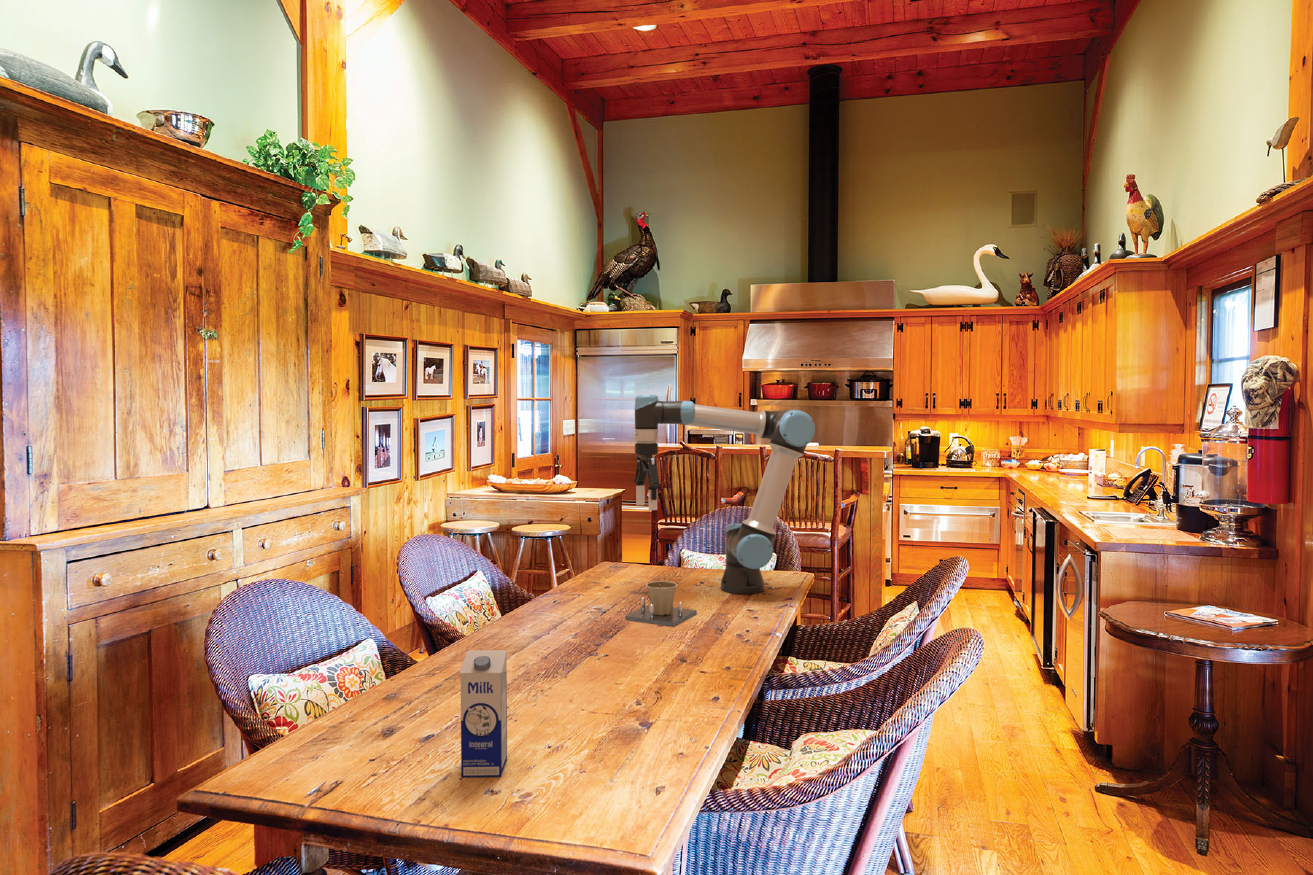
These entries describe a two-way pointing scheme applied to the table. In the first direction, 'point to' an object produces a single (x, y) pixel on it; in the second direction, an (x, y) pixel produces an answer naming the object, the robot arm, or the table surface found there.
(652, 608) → the plate
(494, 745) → the milk carton
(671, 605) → the flower pot
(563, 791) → the table surface
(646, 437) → the robot arm
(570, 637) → the table surface
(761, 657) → the table surface
